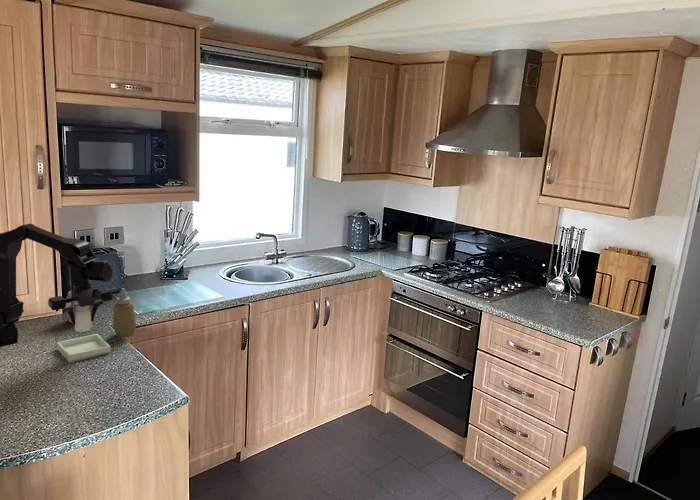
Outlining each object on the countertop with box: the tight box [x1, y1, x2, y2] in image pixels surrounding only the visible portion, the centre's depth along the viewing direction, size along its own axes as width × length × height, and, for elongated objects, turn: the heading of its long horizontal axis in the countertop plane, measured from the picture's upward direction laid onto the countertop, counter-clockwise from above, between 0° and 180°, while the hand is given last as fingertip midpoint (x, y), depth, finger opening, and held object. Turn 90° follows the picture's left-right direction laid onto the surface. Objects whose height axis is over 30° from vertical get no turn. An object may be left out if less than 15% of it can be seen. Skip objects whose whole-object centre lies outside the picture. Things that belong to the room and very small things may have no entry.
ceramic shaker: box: [73, 302, 93, 333], centre depth 182 cm, size 5×5×9 cm
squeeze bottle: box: [112, 287, 137, 338], centre depth 198 cm, size 8×8×18 cm
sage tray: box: [56, 333, 112, 364], centre depth 185 cm, size 13×13×2 cm
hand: (83, 323), depth 182 cm, fingers closed on ceramic shaker, 5 cm apart
